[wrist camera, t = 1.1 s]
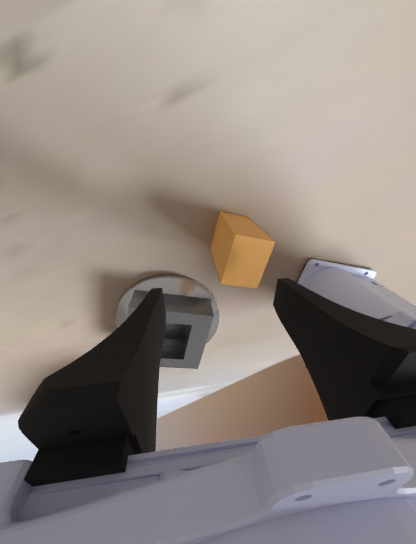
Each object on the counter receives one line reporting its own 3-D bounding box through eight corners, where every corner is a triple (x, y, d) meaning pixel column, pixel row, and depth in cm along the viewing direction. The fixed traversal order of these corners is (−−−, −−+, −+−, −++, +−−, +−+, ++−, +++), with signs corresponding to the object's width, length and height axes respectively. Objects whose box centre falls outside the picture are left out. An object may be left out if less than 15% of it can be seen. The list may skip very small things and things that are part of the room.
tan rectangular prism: (248, 217, 20) (275, 241, 14) (236, 253, 22) (256, 288, 16) (219, 211, 19) (235, 234, 13) (210, 248, 21) (220, 283, 15)
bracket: (229, 282, 24) (236, 303, 20) (206, 353, 29) (209, 378, 26) (118, 266, 21) (105, 287, 18) (117, 347, 27) (107, 374, 23)
